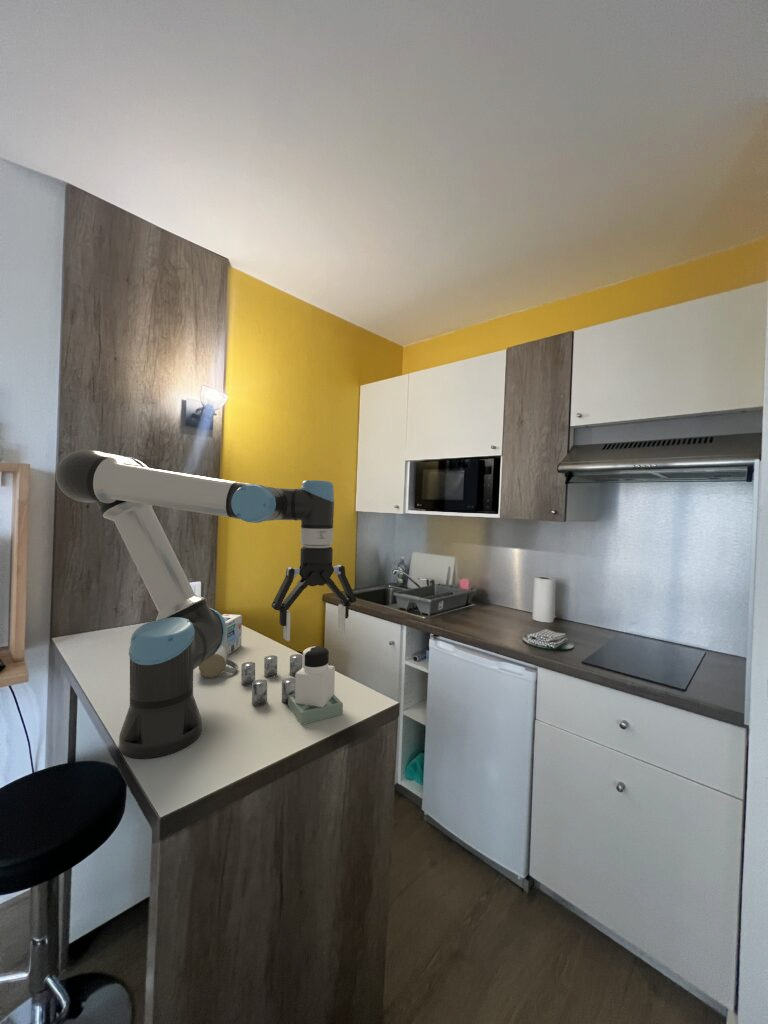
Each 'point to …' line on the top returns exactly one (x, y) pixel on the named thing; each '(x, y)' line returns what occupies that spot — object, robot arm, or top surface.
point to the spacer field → (270, 671)
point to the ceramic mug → (217, 664)
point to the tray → (315, 710)
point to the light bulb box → (232, 632)
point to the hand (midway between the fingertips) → (314, 635)
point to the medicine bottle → (315, 678)
